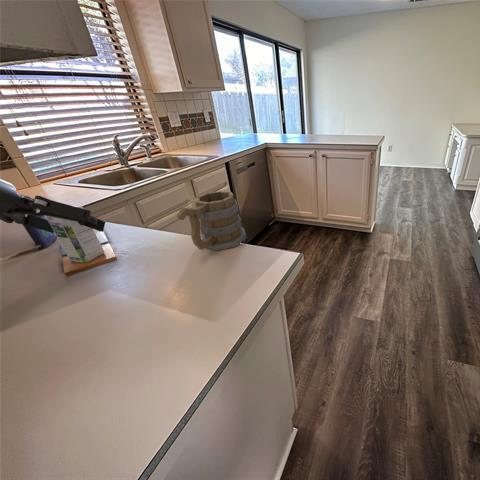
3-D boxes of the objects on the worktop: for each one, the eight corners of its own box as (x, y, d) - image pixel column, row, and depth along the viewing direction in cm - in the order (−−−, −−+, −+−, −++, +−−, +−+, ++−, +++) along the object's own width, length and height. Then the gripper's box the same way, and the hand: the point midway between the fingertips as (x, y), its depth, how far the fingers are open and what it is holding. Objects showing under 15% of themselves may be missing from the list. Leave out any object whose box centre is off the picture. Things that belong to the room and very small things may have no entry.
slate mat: (61, 245, 82) (60, 242, 82) (104, 233, 89) (102, 230, 89) (63, 257, 75) (61, 254, 75) (109, 243, 82) (108, 241, 81)
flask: (49, 237, 88) (31, 207, 82) (60, 235, 89) (43, 205, 83) (36, 250, 80) (15, 218, 75) (48, 248, 81) (28, 216, 76)
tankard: (222, 228, 88) (211, 185, 81) (253, 233, 84) (245, 188, 77) (173, 259, 72) (155, 208, 65) (209, 267, 68) (194, 213, 61)
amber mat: (63, 260, 74) (62, 257, 74) (110, 246, 81) (109, 243, 80) (66, 276, 67) (64, 273, 66) (117, 259, 73) (115, 256, 73)
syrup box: (69, 261, 71) (40, 212, 64) (90, 250, 76) (66, 203, 69) (85, 263, 70) (57, 213, 63) (106, 252, 75) (82, 204, 68)
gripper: (44, 171, 51) (126, 213, 71) (-78, 175, 52) (37, 215, 72) (33, 207, 49) (120, 239, 69) (-94, 210, 50) (29, 241, 70)
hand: (78, 227), depth 71 cm, fingers open, 13 cm apart
